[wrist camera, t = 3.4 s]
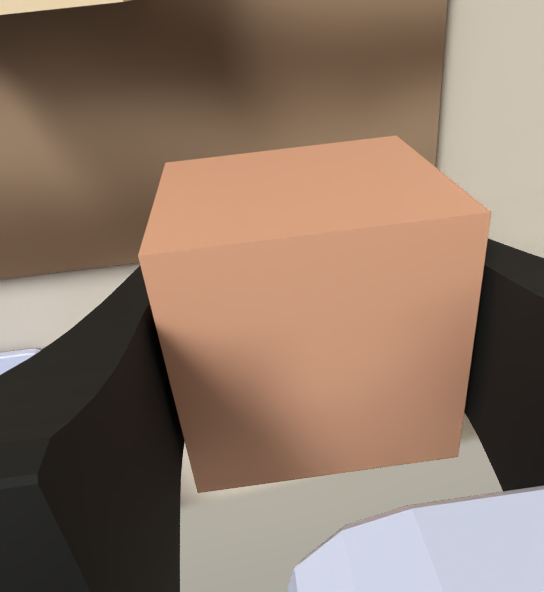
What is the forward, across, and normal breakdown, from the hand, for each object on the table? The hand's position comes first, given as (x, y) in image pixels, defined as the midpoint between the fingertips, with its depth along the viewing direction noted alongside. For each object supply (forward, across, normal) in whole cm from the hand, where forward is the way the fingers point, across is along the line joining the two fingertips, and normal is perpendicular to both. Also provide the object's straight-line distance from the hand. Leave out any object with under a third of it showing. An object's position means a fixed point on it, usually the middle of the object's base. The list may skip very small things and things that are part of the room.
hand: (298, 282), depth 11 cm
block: (+1, 0, 0) cm, 1 cm away
